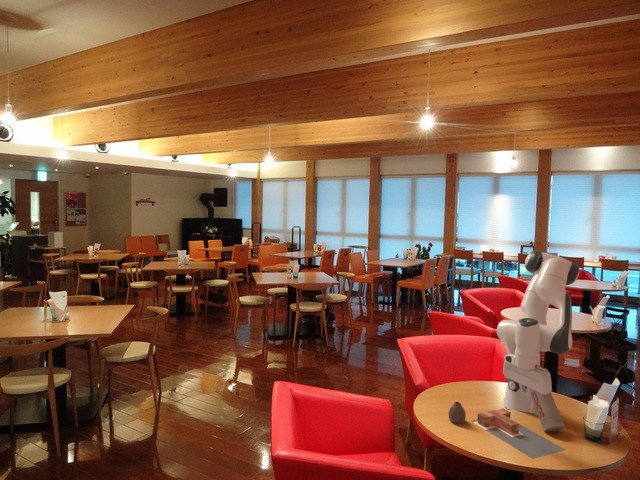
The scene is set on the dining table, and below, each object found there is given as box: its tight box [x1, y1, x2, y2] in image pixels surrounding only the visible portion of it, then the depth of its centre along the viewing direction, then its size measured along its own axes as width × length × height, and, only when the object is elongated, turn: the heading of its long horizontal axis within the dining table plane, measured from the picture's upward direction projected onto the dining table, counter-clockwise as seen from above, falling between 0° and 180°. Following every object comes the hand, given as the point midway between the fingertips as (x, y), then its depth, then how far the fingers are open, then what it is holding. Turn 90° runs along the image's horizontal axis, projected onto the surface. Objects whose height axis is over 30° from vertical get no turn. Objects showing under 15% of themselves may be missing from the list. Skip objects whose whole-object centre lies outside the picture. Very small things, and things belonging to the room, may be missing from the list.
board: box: [471, 418, 566, 459], centre depth 181 cm, size 17×32×1 cm, turn 23°
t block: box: [477, 408, 520, 435], centre depth 186 cm, size 14×13×4 cm
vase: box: [448, 401, 467, 425], centre depth 191 cm, size 7×7×9 cm
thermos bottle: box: [531, 390, 566, 433], centre depth 191 cm, size 8×8×28 cm
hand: (526, 396), depth 176 cm, fingers closed
